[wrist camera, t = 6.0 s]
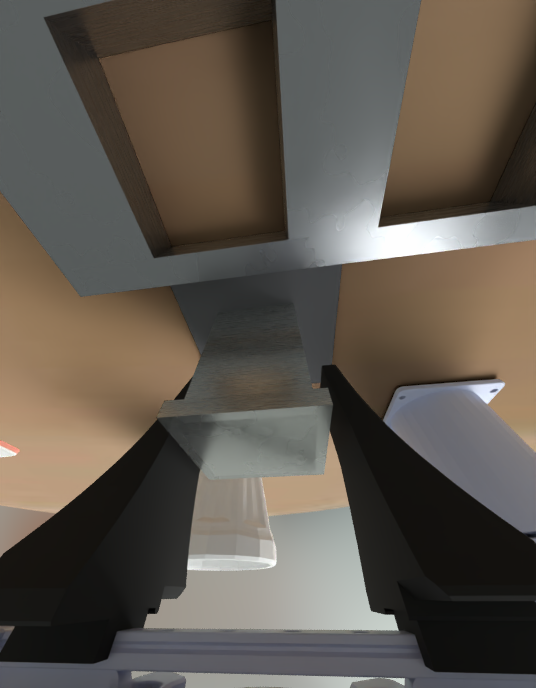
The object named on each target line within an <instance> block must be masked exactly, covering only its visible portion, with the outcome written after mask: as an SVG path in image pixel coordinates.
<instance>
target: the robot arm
mask: <svg viewBox="0 0 536 688" xmlns="http://www.w3.org/2000/svg"><path fill="white" fill-rule="evenodd" d="M192 378H193V377H192ZM192 378H191V379H190V380H189V382H188V383H187V384H186V385H185V387H184V388H183V389H182V390H181V392H180V393H179V394H178V395H177V397H176V398H175V399H174V400H182V399H185V396H186V393H187V391H188V388H189V386H190V383H191V381H192ZM504 385H505V383H504V382H503V381H502V380H500V379H491V380H478V381H465V382H453V383H440V384H427V385H415V386H403V387H399V388H398V389H397V390H396V391H395V394H394V396H393V398H392V401H391V403H390V405H389V408H388V410H387V412H386V415H385V417H384V419H383V420H382V419H381V418H380V417H379V416H378V415H377V414H376V413H375V412H374V411H373V410H372V409H371V408H370V407H369V406H368V405H367V403H366V402H365V401H364V400H363V399H362V398H361V397H360V395H359V394H358V393H357V392H356V391H355V390H354V388H353V387H352V386H351V385H350V383H349V382H348V381H347V380H346V378H345V377H344V376H343V374H342V373H341V372H340V370H339V369H338V368H337V366H336V365H323V366H322V368H321V385H320V388H328V390H329V393H330V397H331V400H332V403H333V408H332V416H331V423H330V432H331V436H332V439H333V442H334V445H335V448H336V451H337V455H338V458H339V462H340V465H341V469H342V474H343V478H344V483H345V487H346V492H347V496H348V501H349V506H350V509H351V515H352V520H353V525H354V530H355V535H356V540H357V544H358V549H359V555H360V560H361V566H362V571H363V576H364V582H365V587H366V592H367V596H368V601H369V605H370V608H371V611H373V612H377V613H381V614H387V615H388V614H389V615H390V614H392V615H394V616H395V619H396V622H397V626H398V629H399V631H373V630H370V631H369V630H363V631H362V630H267V629H265V630H264V629H263V630H261V629H156V628H154V629H153V628H148V629H147V628H146V629H145V628H143V627H144V624H145V620H146V617H147V614H157V612H158V610H159V607H160V603H161V599H174V598H175V599H176V598H178V597H179V596H180V594H181V593H182V592H183V590H184V589H185V588H186V577H187V566H188V555H189V545H190V536H191V527H192V519H193V512H194V505H195V498H196V491H197V485H198V479H199V473H200V468H199V467H198V466H197V465H196V464H195V463H194V461H193V460H192V459H191V458H190V457H189V455H188V454H187V453H186V452H185V451H184V450H183V448H182V447H181V446H180V445H179V444H178V443H177V441H176V440H175V439H174V438H173V437H172V436H171V434H170V433H169V432H168V431H167V430H166V429H165V427H164V426H163V425H162V424H161V423H160V422H159V420H158V419H157V421H156V422H155V423H154V424H153V425H152V426H151V427H150V428H149V430H148V431H147V432H146V433H145V434H144V435H143V436H142V437H141V438H140V439H139V440H138V441H137V442H136V443H135V445H134V446H133V447H132V448H131V449H130V450H128V451H127V452H126V453H125V454H124V455H123V456H122V457H121V458H120V459H119V460H118V461H117V462H116V463H115V464H114V465H113V466H112V467H111V468H109V469H108V470H107V471H106V472H105V473H104V474H103V475H102V476H101V477H99V478H98V479H97V480H96V481H95V482H94V483H93V484H92V485H90V486H89V487H88V488H87V489H86V490H85V491H83V492H82V493H81V494H80V495H79V496H77V497H76V498H75V499H74V500H73V501H71V502H70V503H69V504H68V505H66V506H65V507H64V508H63V509H61V510H60V511H59V512H58V513H56V514H55V515H54V516H53V517H51V518H50V519H49V520H47V521H46V522H45V523H44V524H42V525H41V526H40V527H38V528H37V529H36V530H35V531H33V532H32V533H30V534H29V535H28V536H26V537H25V538H24V539H22V540H21V541H20V542H18V543H17V544H16V545H14V546H13V547H12V548H10V549H9V550H8V551H6V552H5V553H4V554H3V555H2V556H1V558H0V688H185V684H186V679H185V677H184V676H181V675H179V674H176V673H173V672H192V673H230V674H267V675H306V676H344V677H382V678H375V679H369V680H364V681H358V682H353V683H352V684H351V687H350V688H536V453H535V452H534V451H533V450H532V449H531V448H530V447H529V446H528V445H527V444H526V443H525V442H524V441H523V440H522V439H521V438H520V437H519V436H518V435H517V434H516V433H515V432H514V431H513V430H512V429H511V428H510V427H509V426H508V425H507V424H506V423H505V422H504V421H503V420H502V419H501V418H500V417H499V416H498V415H497V414H496V413H495V412H494V411H493V410H492V409H491V408H490V407H489V406H488V405H487V404H488V403H489V402H490V401H491V399H492V398H493V397H494V396H495V395H496V394H497V393H498V392H499V391H500V390H501V389H502V388H503V387H504ZM131 671H153V673H150V674H147V675H143V676H140V677H137V678H134V679H132V677H131ZM383 677H384V678H383ZM385 678H405V686H403V685H402V684H400V683H397V682H396V681H393V680H390V679H385ZM246 688H280V687H246Z"/></svg>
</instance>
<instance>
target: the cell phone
mask: <svg viewBox="0 0 536 688" xmlns="http://www.w3.org/2000/svg"><path fill="white" fill-rule="evenodd" d="M19 451H20V450H19V449H17V448H16V447H14V446H11V445H9V444H7V443H5V442H3V441H1V440H0V457H8V456H15V455H16V454H17V453H18V452H19Z"/></svg>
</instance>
